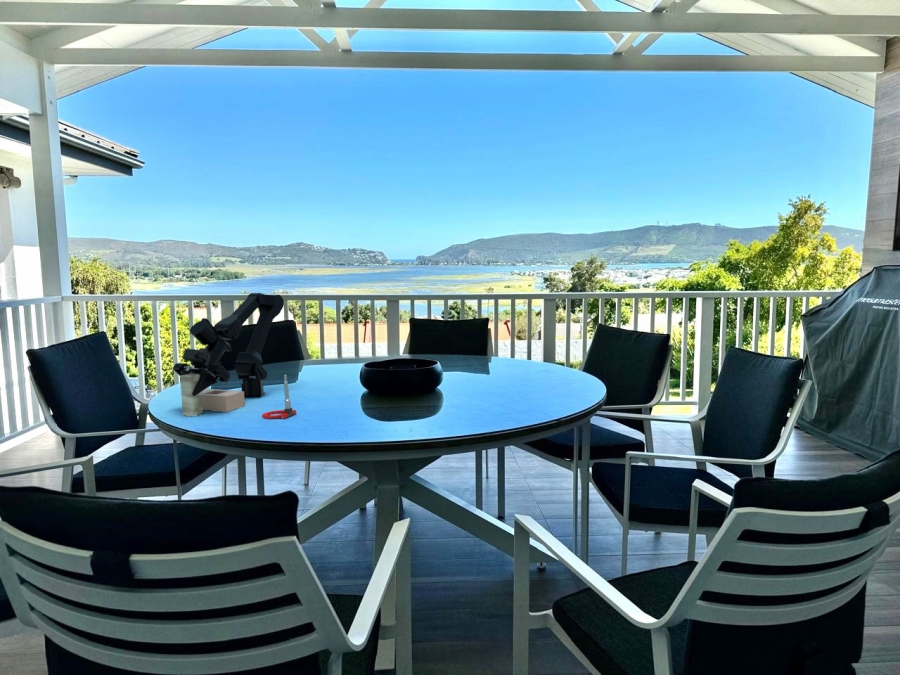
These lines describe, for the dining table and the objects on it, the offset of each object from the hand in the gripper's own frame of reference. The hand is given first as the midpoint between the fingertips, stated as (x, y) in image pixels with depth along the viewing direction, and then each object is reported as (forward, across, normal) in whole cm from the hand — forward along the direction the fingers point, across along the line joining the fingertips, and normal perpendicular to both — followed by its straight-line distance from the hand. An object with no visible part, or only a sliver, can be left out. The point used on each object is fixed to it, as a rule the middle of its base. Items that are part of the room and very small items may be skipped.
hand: (187, 394), depth 179 cm
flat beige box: (-3, 0, +13) cm, 13 cm away
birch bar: (+4, 0, +6) cm, 7 cm away
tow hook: (-1, +27, +11) cm, 29 cm away
